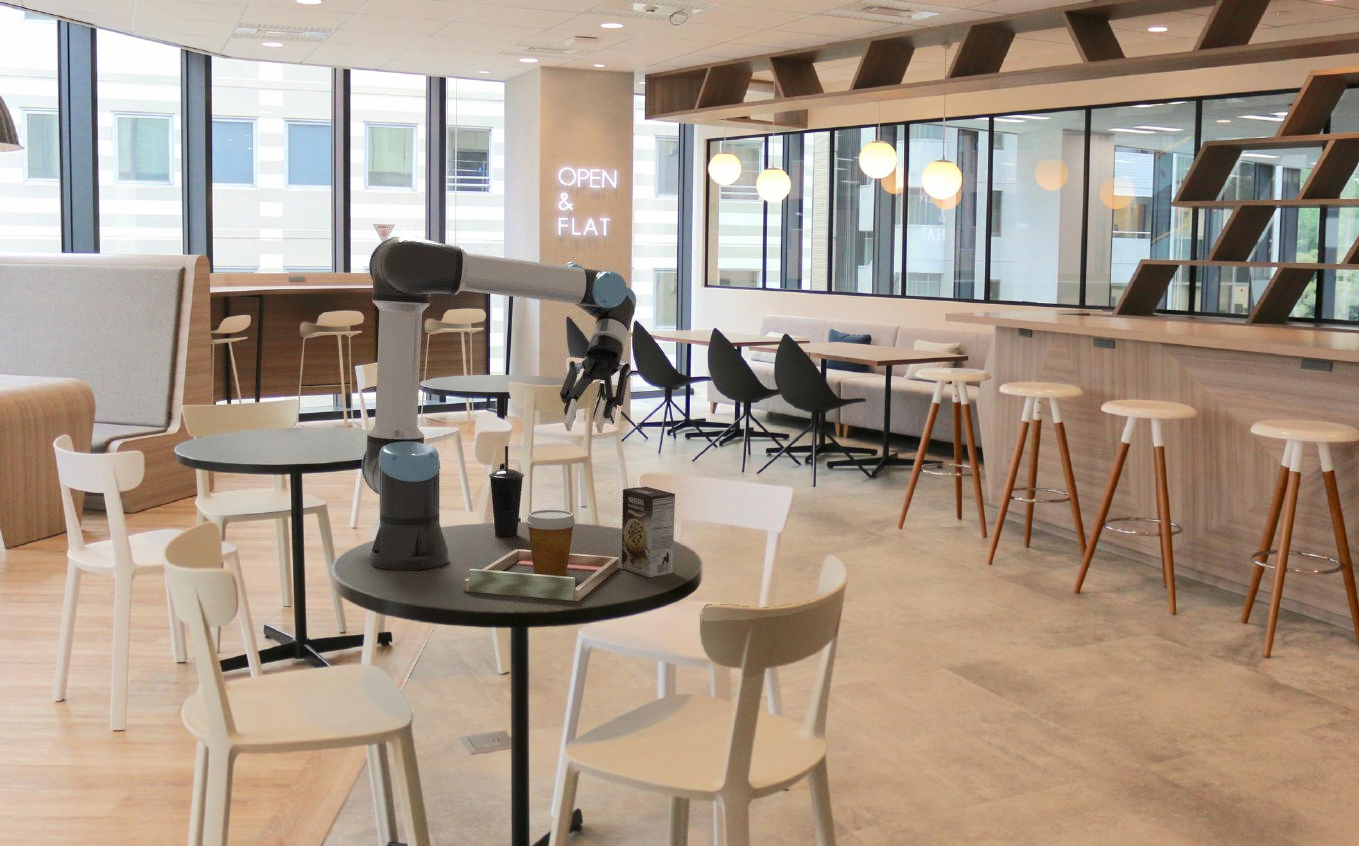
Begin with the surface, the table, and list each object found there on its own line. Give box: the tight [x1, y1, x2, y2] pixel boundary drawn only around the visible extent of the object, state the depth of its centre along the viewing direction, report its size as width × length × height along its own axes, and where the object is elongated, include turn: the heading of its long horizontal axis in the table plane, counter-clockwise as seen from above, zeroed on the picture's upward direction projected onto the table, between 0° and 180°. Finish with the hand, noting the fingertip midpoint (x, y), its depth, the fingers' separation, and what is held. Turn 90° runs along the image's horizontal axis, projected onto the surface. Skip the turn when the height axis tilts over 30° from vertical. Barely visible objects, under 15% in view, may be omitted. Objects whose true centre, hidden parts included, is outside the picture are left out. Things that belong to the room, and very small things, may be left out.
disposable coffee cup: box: [525, 509, 576, 577], centre depth 228 cm, size 10×10×12 cm
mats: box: [516, 559, 603, 572], centre depth 236 cm, size 18×4×1 cm, turn 77°
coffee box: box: [621, 486, 676, 578], centre depth 233 cm, size 9×6×16 cm
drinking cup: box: [488, 445, 525, 538], centre depth 261 cm, size 8×8×20 cm
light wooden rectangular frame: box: [463, 548, 620, 602], centre depth 226 cm, size 22×26×4 cm
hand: (582, 427), depth 244 cm, fingers open, 6 cm apart
